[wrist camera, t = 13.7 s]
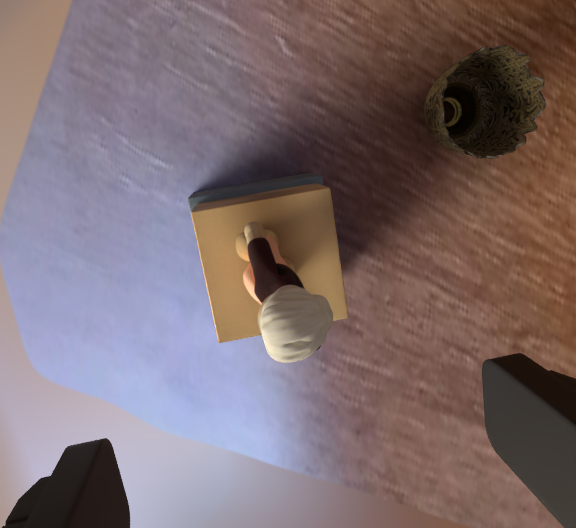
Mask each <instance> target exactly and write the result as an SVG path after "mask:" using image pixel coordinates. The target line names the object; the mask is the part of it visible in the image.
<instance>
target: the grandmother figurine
mask: <svg viewBox="0 0 576 528" xmlns="http://www.w3.org/2000/svg"><path fill="white" fill-rule="evenodd" d="M236 249H237V253H238V255H239V256H240V257H241V258H242V259H244V260H246V261H250V264H249V265H248V267H247V268H246V270H245V271H244V274H243V280H244V284H245V286H246V288H247V290H248V292H249V293H250V295H251V296H252V297H253V298H254V299H255V300H256V301H258V302H259V303H260V304H261V307H260V309H259V313H258V326H259V329H260V332H261V334H262V336H263V340H264V342H265V346H266V349H267V352H268V353H269V355H270V356H271V357H272V358H273V359H274V360H276V361H279V362H283V363H289V362H295V361H299V360H302V359H304V358H306V357H308V356H310V355H312V354H313V353H314V352H315V351H316V350H318V349H319V348H320V346H321V344H323V343H324V341H325V338H326V336H327V332H328V331H329V330H330V328H331V326H332V321H333V312H332V310H331V307H330V304H329V302H328V300H327V299H326V298H325V297H324V296H322V295H318V294H315V295H312V294H310V293H309V292H308V291H306V290H305V288H304V286H303V283H302V282H301V280H300V279H299V277H298V276H297V275H296V273H295V266H294V265H293V263H292V262H291V260H289V259H288V258H284V257H283V258H282V257H281V256H280V254H279V250H278V238H277V235H276V234H275V232H273V231H272V230H268V229H265V230H264V229H263V226H262V225H261V224H260V223H258V222H250V223H248V224H247V225H246V226H245V229H244V232H243V233H242V234H240V235H239V236H238V238H237V240H236Z"/></svg>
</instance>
